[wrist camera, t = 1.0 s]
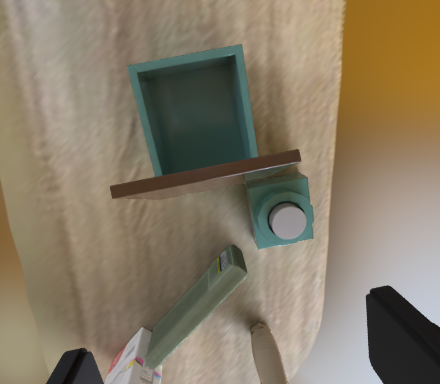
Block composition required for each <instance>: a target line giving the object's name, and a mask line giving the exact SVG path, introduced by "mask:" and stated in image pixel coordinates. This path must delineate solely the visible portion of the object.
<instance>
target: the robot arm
mask: <svg viewBox="0 0 440 384" xmlns="http://www.w3.org/2000/svg"><path fill="white" fill-rule="evenodd" d="M366 309H367V327H368V346H369V359H370V363H371V365H372V367H373V369H374V370H375V372H376V373H377V375H378V376H379V378H380V379H381V380H382V382H383V384H440V327H439V326H437V325H436V324H434V323H432V322H431V321H429V320H428V319H427V318H426V317H425V316H424V315H423V314H421V313H420V312H419V311H418V310H417V309H416V308H415V307H414V306H413V305H411V304H410V303H409V302H408V301H407V300H406V299H405V298H403V297H402V296H401V295H400V294H399V293H398V292H397V291H396V290H394V289H393V288H392V287H391V286H382V287H377V288H373V289H371V290H370V294H367V295H366ZM46 384H104V383H103V380H102V378H101V375H100V372H99V370H98V367H97V364H96V362H95V359H94V357H93V354H92V352H87V350H86V349H85V348H80V349H76V350H71V351H66V352H65V353H64V354H63V355H62V357H61V359H60V360H59V362H58V364H57V366H56V367H55V369H54V371H53V373H52V374H51V376H50V378H49V380H48V381H47V383H46Z"/></svg>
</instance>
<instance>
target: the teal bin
mask: <svg viewBox="0 0 440 384" xmlns="http://www.w3.org/2000/svg"><path fill="white" fill-rule="evenodd" d="M127 68H128V72H129V76H130V80H131V84H132V88H133V92H134V95H135V99H136V103H137V107H138V111H139V115H140V119H141V123H142V127H143V130H144V134H145V138H146V142H147V146H148V150H149V154H150V158H151V162H152V166H153V169H154V173H155V177H158V176H163V175H169V174H174V173H179V172H184V171H189V170H194V169H199V168H204V167H209V166H214V165H220V164H225V163H230V162H235V161H240V160H245V159H250V158H255V157H258V151H257V144H256V137H255V131H254V124H253V117H252V110H251V103H250V96H249V89H248V83H247V76H246V69H245V62H244V55H243V48H242V44H240V45H235V46H229V47H224V48H219V49H213V50H208V51H203V52H197V53H192V54H187V55H182V56H176V57H171V58H166V59H160V60H155V61H150V62H144V63H139V64H134V65H129V66H127Z"/></svg>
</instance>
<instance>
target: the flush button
mask: <svg viewBox="0 0 440 384" xmlns="http://www.w3.org/2000/svg"><path fill="white" fill-rule="evenodd" d="M269 224H270V226H271V228H272V230H273V231H274V233H275V234H276V235H277V236H278V237H280V238H282V239H293V238H296V237H298V236H299V235H300V234H301V233H302V232H303V231H304V229H305V227H306V216H305V214H304V213H303V212H302V210H300V209H299V208H298V207H297V206H296V205H294V204H292V203H281V204H279V205H277V206H276V207H274V208H273V210H272V211H271V213H270V215H269Z"/></svg>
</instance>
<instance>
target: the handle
mask: <svg viewBox="0 0 440 384" xmlns="http://www.w3.org/2000/svg"><path fill="white" fill-rule="evenodd" d="M251 339H252V352H253V357H254V361H255V365H256V368H257V372H258V375H259V378H260V382H261V384H288V382H287V378H286V374H285V370H284V366H283V362H282V358H281V355H280V352H279V349H278V346H277V344H276V341H275V339H274V337H273V335H272V334H271V330H270V328H269V327H268V325H263V324H262V323H257V325H256V326H254V327H252V328H251Z"/></svg>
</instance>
